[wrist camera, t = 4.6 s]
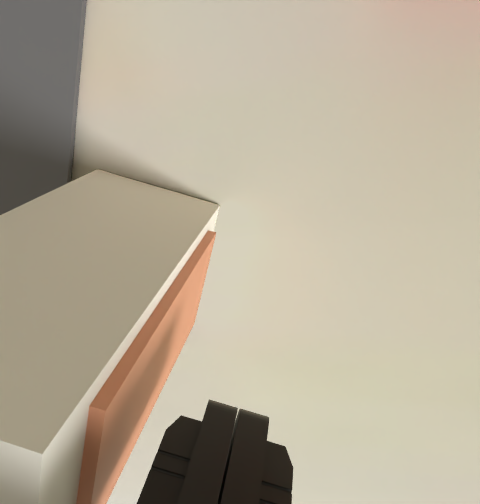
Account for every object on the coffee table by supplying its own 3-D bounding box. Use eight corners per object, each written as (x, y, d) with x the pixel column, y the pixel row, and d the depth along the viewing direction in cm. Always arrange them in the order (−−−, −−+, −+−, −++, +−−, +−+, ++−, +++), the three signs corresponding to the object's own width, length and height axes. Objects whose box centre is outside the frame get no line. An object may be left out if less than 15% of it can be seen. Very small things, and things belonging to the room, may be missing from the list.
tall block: (97, 168, 17) (-277, 347, 7) (227, 207, 17) (62, 461, 6) (85, 278, 20) (-215, 552, 9) (201, 314, 19) (42, 644, 8)
